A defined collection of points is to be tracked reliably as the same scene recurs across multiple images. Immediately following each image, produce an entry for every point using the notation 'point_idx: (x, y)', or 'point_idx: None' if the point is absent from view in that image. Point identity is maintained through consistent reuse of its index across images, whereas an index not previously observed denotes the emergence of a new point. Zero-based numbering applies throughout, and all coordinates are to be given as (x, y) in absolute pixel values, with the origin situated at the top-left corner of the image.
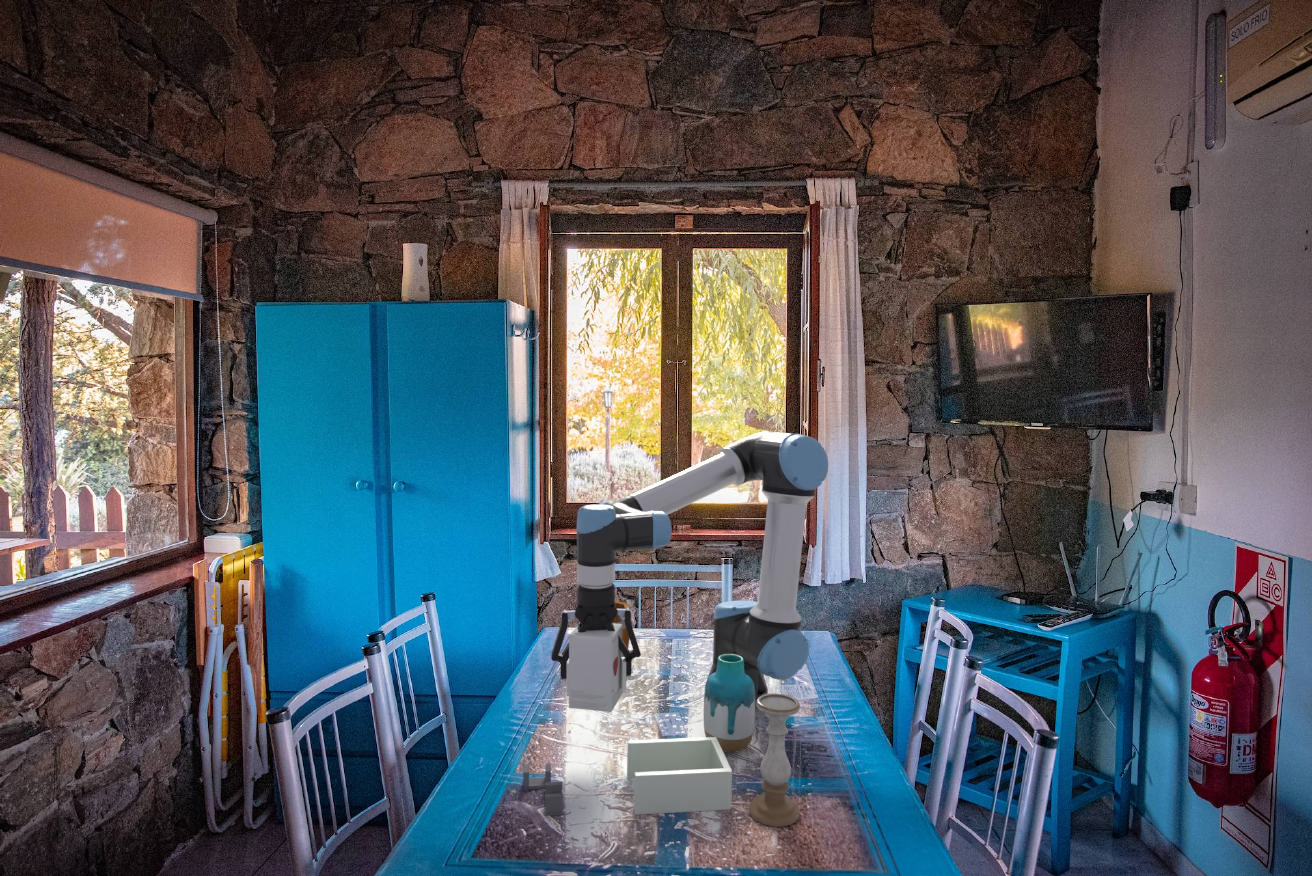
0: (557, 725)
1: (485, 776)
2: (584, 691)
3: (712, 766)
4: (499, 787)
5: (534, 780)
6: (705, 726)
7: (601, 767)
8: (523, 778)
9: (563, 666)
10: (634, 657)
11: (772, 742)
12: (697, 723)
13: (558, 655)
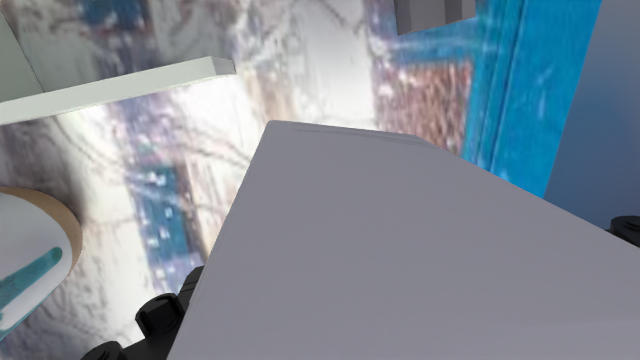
0: None
1: (531, 37)
2: (382, 141)
3: (9, 80)
4: None
5: (433, 14)
6: (50, 230)
7: (298, 106)
8: None
9: None
10: (137, 343)
11: None
12: (139, 307)
13: (632, 239)
